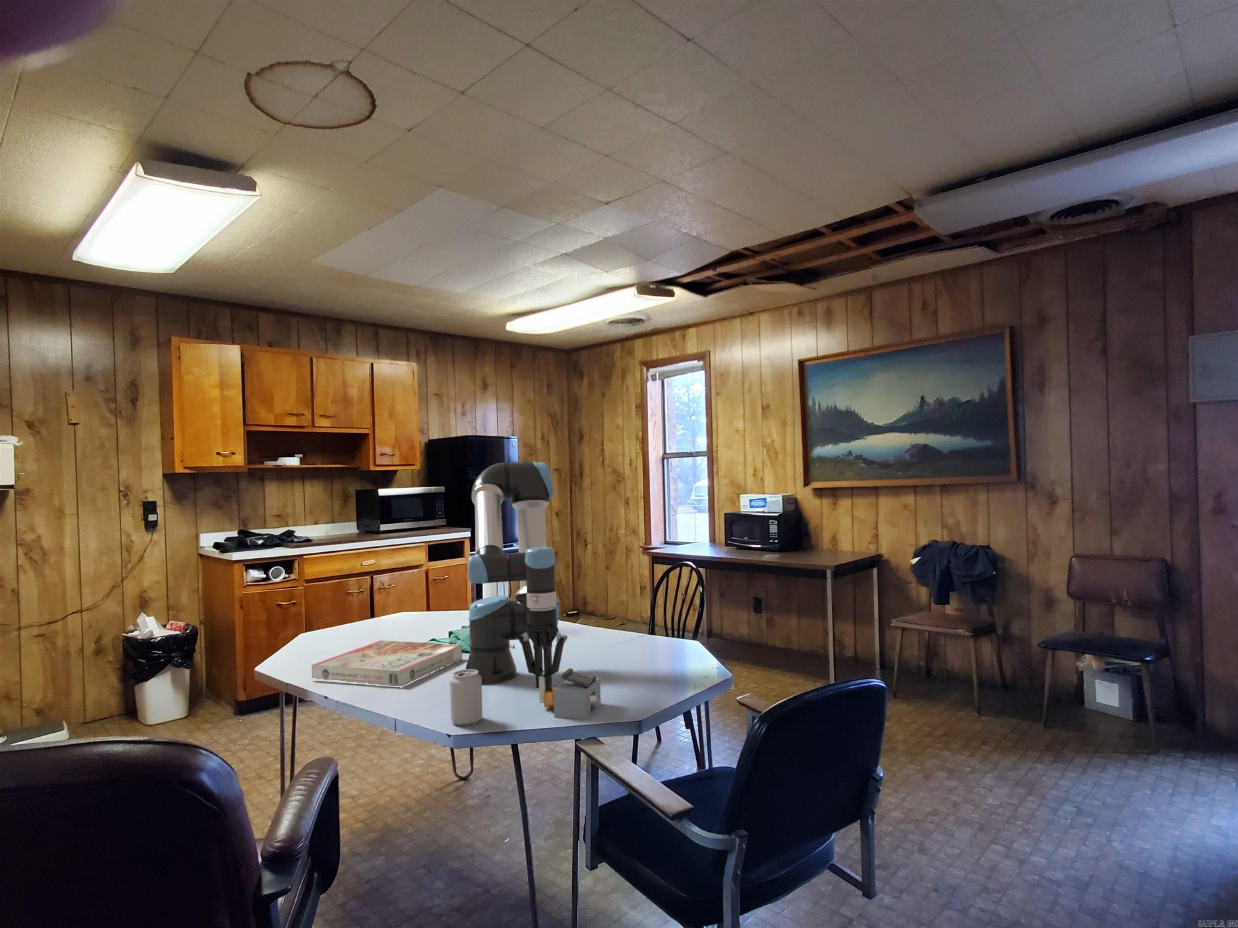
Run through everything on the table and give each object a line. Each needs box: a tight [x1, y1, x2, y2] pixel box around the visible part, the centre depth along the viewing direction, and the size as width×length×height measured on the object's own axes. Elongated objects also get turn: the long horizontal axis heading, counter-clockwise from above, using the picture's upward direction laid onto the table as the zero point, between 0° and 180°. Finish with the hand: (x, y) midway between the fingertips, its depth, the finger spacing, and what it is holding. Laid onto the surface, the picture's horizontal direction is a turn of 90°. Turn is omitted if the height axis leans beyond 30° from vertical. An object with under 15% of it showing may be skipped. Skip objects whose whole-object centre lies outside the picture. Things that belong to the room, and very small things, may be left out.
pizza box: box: [311, 640, 463, 686], centre depth 220 cm, size 32×5×32 cm
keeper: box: [560, 667, 597, 688], centre depth 175 cm, size 7×7×1 cm
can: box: [449, 668, 483, 726], centre depth 170 cm, size 8×8×12 cm
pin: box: [543, 687, 597, 709], centre depth 176 cm, size 13×5×5 cm, turn 73°
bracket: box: [553, 677, 602, 720], centre depth 175 cm, size 8×12×6 cm, turn 163°
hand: (544, 701), depth 178 cm, fingers closed
